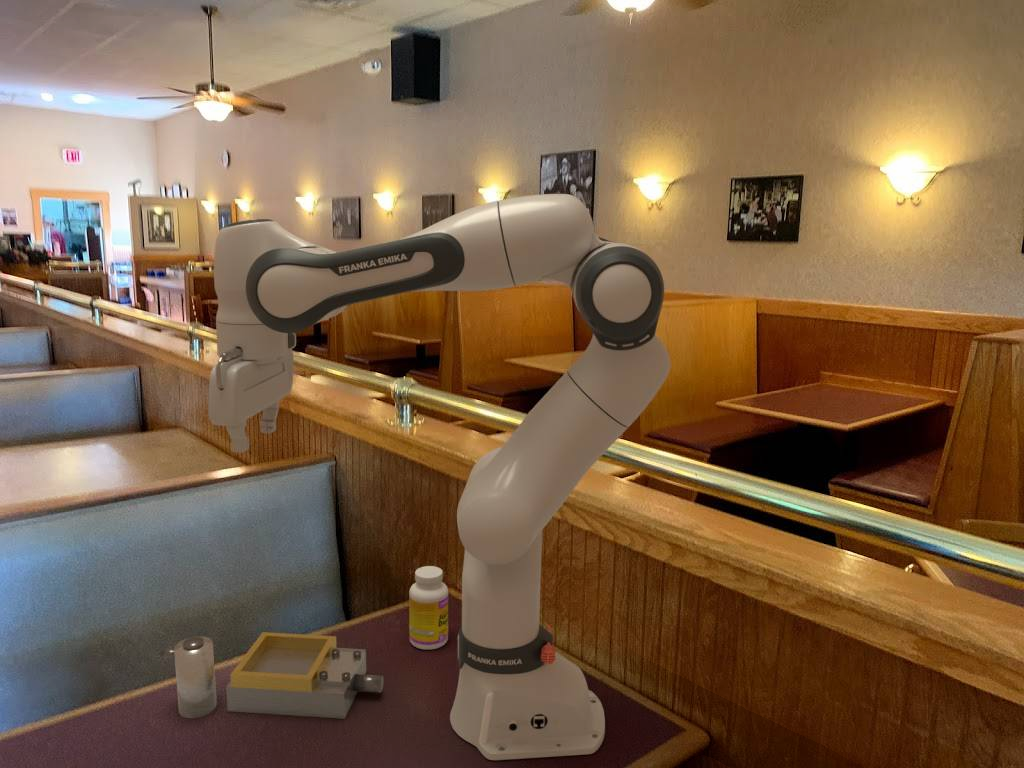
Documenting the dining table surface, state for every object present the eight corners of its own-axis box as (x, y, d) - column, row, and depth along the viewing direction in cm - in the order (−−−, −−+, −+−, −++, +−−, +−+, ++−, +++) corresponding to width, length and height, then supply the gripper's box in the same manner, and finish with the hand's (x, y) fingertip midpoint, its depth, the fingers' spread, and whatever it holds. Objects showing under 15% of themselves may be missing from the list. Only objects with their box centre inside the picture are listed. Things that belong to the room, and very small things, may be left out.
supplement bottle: (441, 653, 130) (441, 582, 127) (404, 648, 131) (403, 578, 129) (452, 633, 136) (453, 565, 134) (416, 629, 138) (416, 561, 135)
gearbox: (390, 673, 124) (390, 639, 123) (371, 720, 112) (371, 683, 111) (259, 665, 125) (258, 631, 124) (227, 711, 114) (225, 674, 112)
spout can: (222, 697, 117) (218, 633, 115) (206, 719, 112) (202, 652, 110) (175, 694, 117) (170, 630, 115) (157, 716, 112) (151, 649, 110)
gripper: (242, 356, 94) (246, 465, 97) (300, 333, 114) (302, 424, 117) (192, 353, 94) (197, 462, 97) (258, 331, 114) (261, 421, 117)
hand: (255, 441), depth 107 cm, fingers open, 8 cm apart
